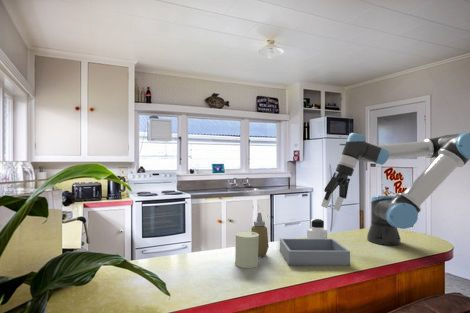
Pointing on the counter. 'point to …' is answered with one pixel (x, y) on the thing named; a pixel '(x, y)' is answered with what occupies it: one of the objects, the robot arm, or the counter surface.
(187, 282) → the counter surface
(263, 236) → the squeeze bottle
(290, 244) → the grey box
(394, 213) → the robot arm
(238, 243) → the can
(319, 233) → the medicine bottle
